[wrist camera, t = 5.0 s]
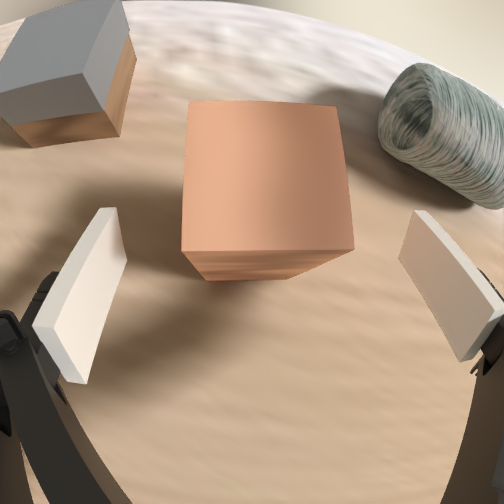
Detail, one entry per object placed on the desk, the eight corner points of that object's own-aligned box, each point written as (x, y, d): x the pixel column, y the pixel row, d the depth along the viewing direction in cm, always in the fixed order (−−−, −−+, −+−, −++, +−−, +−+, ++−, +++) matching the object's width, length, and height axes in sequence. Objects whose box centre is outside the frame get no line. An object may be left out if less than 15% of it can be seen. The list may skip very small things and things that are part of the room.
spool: (355, 157, 18) (468, 48, 11) (355, 99, 24) (428, 22, 16) (472, 261, 21) (565, 200, 14) (453, 188, 27) (522, 133, 20)
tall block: (206, 280, 20) (181, 251, 9) (206, 202, 20) (189, 101, 10) (286, 279, 20) (354, 249, 9) (283, 202, 21) (336, 106, 10)
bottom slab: (34, 149, 20) (10, 127, 16) (58, 75, 22) (41, 48, 18) (120, 138, 21) (103, 109, 17) (137, 61, 22) (127, 29, 18)
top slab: (10, 126, 16) (-18, 98, 13) (43, 47, 18) (26, 17, 14) (103, 111, 17) (82, 73, 13) (129, 30, 18) (119, -8, 14)
